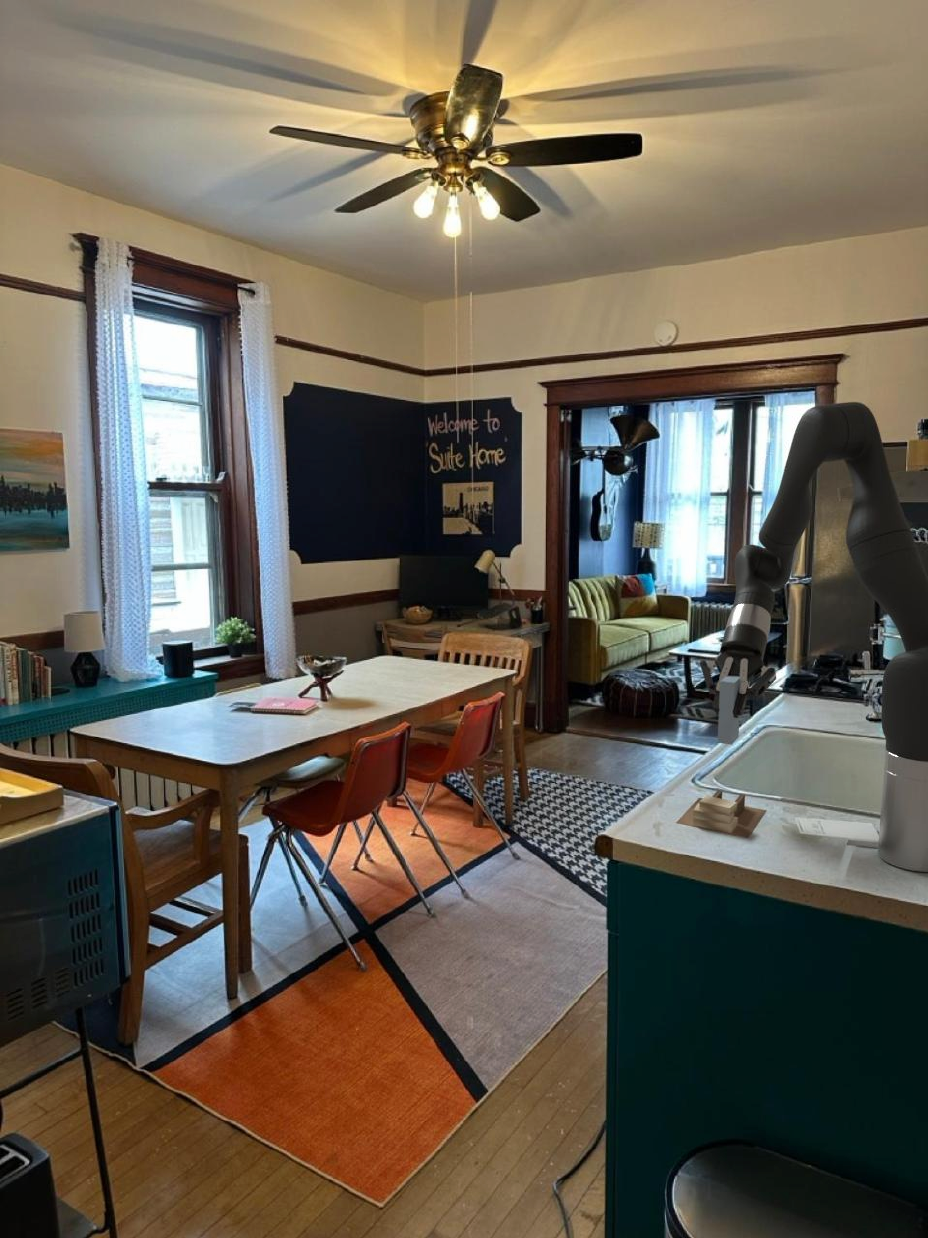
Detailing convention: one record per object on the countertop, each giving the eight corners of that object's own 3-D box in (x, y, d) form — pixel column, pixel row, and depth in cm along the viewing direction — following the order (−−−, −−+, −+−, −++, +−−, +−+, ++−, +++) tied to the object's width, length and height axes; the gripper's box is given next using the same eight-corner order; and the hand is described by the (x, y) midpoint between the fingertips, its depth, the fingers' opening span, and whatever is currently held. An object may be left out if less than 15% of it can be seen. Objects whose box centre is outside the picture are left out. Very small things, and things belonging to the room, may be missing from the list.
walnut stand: (766, 815, 143) (767, 797, 143) (748, 843, 132) (749, 823, 131) (698, 802, 150) (699, 784, 149) (675, 828, 138) (676, 808, 137)
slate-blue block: (738, 737, 143) (741, 676, 141) (731, 744, 139) (734, 682, 137) (724, 735, 144) (727, 675, 143) (717, 742, 140) (720, 681, 138)
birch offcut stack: (737, 825, 137) (738, 801, 136) (731, 833, 133) (732, 809, 133) (698, 817, 140) (699, 794, 140) (691, 825, 137) (692, 801, 136)
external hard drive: (882, 851, 130) (800, 843, 133) (871, 831, 138) (793, 824, 141) (883, 841, 130) (800, 833, 133) (871, 822, 138) (793, 815, 141)
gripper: (704, 619, 148) (682, 697, 140) (784, 625, 141) (766, 708, 133) (711, 643, 154) (690, 720, 145) (788, 650, 147) (771, 731, 138)
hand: (726, 714), depth 139 cm, fingers closed on slate-blue block, 2 cm apart
